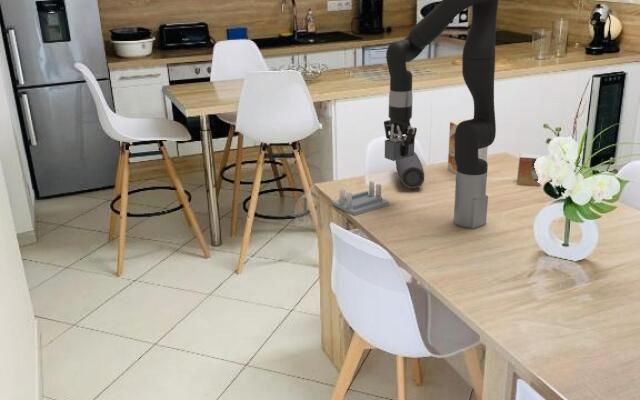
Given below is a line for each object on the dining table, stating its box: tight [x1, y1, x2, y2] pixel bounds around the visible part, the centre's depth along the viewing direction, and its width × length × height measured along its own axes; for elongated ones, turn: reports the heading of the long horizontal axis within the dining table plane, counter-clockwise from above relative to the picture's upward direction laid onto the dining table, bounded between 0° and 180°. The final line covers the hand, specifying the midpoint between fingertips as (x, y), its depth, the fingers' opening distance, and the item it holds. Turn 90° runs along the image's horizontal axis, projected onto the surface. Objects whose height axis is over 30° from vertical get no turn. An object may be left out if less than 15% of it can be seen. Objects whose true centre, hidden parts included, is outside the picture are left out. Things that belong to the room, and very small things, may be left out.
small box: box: [516, 152, 543, 187], centre depth 233 cm, size 8×6×10 cm
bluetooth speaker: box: [395, 151, 425, 189], centre depth 238 cm, size 23×9×10 cm, turn 179°
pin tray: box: [332, 181, 390, 216], centre depth 218 cm, size 12×15×6 cm
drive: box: [384, 136, 416, 162], centre depth 212 cm, size 4×9×6 cm, turn 125°
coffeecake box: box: [447, 119, 489, 175], centre depth 242 cm, size 15×7×20 cm, turn 25°
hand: (399, 154), depth 213 cm, fingers closed on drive, 4 cm apart
